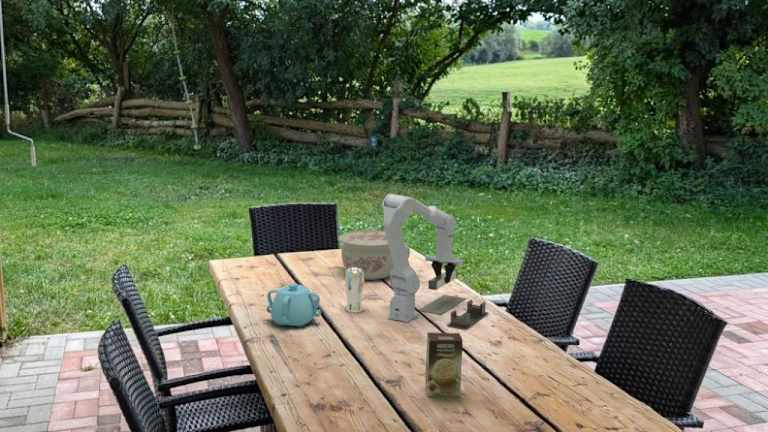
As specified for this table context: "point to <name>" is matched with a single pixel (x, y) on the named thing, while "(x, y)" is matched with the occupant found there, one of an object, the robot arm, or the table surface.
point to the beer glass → (354, 289)
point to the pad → (442, 304)
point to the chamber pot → (368, 253)
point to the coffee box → (443, 364)
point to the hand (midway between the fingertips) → (443, 282)
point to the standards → (468, 316)
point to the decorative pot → (293, 305)
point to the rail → (441, 280)
